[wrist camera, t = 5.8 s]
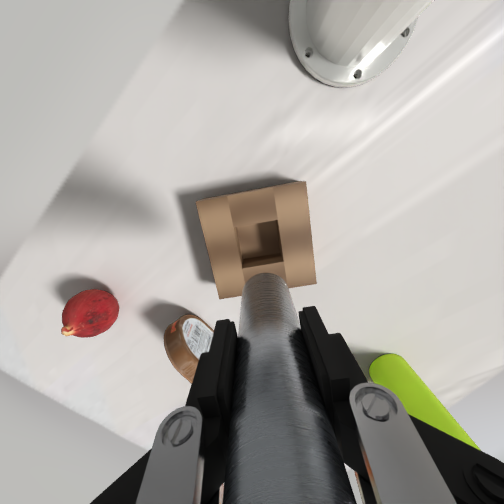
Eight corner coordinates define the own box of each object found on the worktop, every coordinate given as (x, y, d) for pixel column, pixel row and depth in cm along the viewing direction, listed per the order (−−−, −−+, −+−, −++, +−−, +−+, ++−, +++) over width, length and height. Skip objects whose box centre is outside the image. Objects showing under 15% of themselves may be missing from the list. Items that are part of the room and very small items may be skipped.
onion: (122, 277, 32) (82, 307, 25) (134, 313, 34) (100, 352, 26) (82, 282, 33) (30, 314, 25) (96, 318, 34) (51, 357, 27)
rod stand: (203, 198, 29) (195, 201, 25) (298, 181, 28) (305, 181, 25) (223, 285, 33) (219, 299, 29) (308, 271, 32) (316, 283, 28)
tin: (174, 313, 34) (150, 354, 26) (190, 300, 33) (170, 339, 25) (240, 376, 38) (236, 430, 30) (255, 366, 37) (256, 419, 29)
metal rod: (238, 276, 15) (82, 1313, 1) (285, 269, 14) (679, 1379, 1) (247, 317, 16) (207, 1178, 2) (291, 310, 15) (547, 1200, 2)
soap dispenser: (401, 388, 38) (552, 599, 19) (362, 378, 37) (477, 586, 18) (419, 360, 36) (603, 560, 17) (378, 349, 36) (522, 544, 17)
